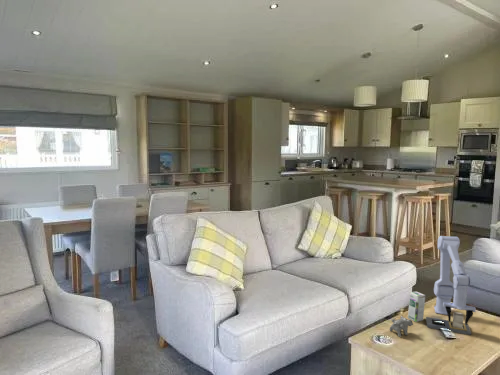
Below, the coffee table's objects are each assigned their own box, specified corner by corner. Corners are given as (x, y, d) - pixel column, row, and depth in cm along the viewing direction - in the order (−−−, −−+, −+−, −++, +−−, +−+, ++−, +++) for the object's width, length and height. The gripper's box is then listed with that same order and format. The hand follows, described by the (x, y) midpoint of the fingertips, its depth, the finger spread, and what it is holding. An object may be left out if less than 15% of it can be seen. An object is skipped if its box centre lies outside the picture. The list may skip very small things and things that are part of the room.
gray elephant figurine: (386, 332, 192) (387, 318, 190) (399, 324, 199) (400, 311, 198) (403, 340, 184) (404, 325, 183) (416, 332, 192) (417, 317, 190)
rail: (425, 319, 207) (426, 316, 206) (467, 326, 199) (467, 323, 199) (427, 327, 197) (427, 324, 197) (470, 335, 190) (471, 332, 190)
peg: (452, 326, 199) (453, 311, 198) (461, 328, 198) (462, 313, 197) (453, 329, 195) (454, 315, 195) (462, 331, 194) (463, 316, 193)
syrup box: (407, 317, 208) (409, 292, 206) (415, 316, 210) (417, 290, 209) (415, 322, 203) (417, 296, 201) (423, 320, 205) (425, 294, 204)
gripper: (445, 297, 194) (442, 323, 195) (477, 302, 188) (475, 328, 190) (443, 292, 200) (441, 317, 202) (475, 297, 195) (472, 322, 196)
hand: (457, 322), depth 196 cm, fingers open, 7 cm apart
